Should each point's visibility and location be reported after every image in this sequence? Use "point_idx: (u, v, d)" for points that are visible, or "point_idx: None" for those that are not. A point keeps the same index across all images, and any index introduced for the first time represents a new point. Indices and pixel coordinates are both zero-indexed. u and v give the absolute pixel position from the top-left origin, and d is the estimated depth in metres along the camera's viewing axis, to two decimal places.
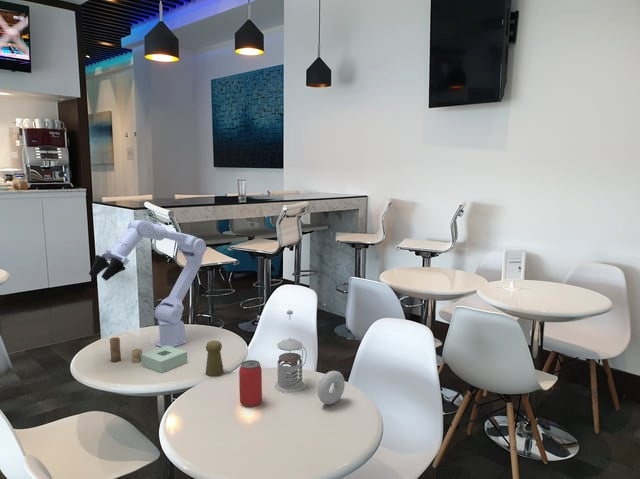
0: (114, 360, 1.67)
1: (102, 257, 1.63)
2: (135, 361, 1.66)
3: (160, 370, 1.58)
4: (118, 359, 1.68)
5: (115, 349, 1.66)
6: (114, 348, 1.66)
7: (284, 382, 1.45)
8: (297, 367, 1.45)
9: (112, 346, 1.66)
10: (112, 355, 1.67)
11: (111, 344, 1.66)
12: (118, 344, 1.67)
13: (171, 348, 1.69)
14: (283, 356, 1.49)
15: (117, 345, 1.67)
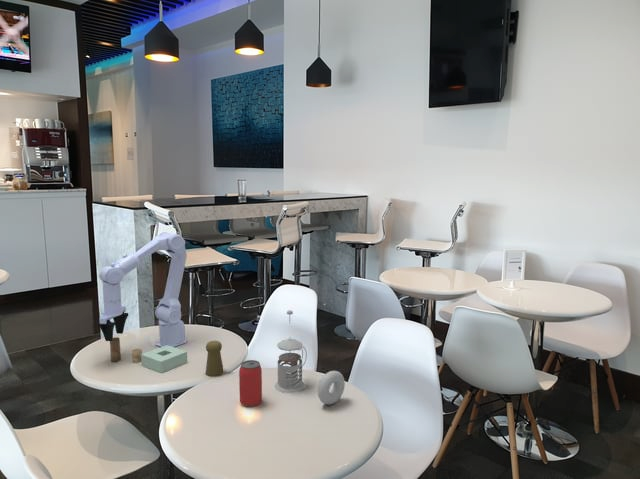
0: (114, 360, 1.67)
1: None
2: (135, 361, 1.66)
3: (160, 370, 1.58)
4: (118, 359, 1.68)
5: (115, 349, 1.66)
6: (114, 348, 1.66)
7: (284, 382, 1.45)
8: (297, 367, 1.45)
9: (112, 346, 1.66)
10: (112, 355, 1.67)
11: (111, 344, 1.66)
12: (118, 344, 1.67)
13: (171, 348, 1.69)
14: (283, 356, 1.49)
15: (117, 345, 1.67)
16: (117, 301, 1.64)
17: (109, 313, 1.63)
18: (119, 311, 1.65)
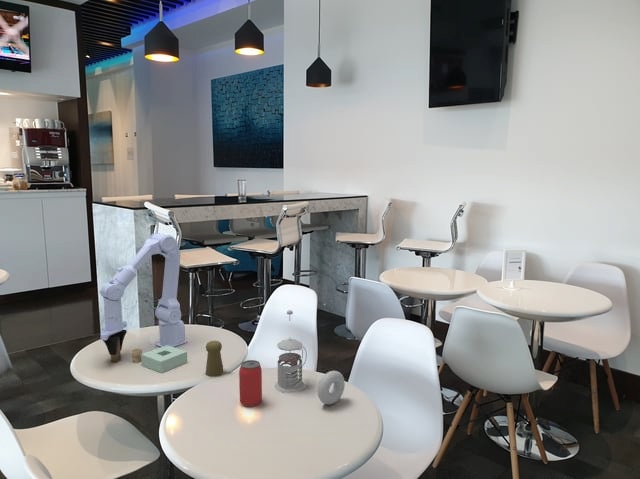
0: (114, 360, 1.67)
1: None
2: (135, 361, 1.66)
3: (160, 370, 1.58)
4: (118, 359, 1.68)
5: None
6: None
7: (284, 382, 1.45)
8: (297, 367, 1.45)
9: None
10: (112, 355, 1.67)
11: None
12: (118, 344, 1.67)
13: (171, 348, 1.69)
14: (283, 356, 1.49)
15: (117, 345, 1.67)
16: (118, 317, 1.65)
17: (110, 329, 1.64)
18: (120, 327, 1.66)
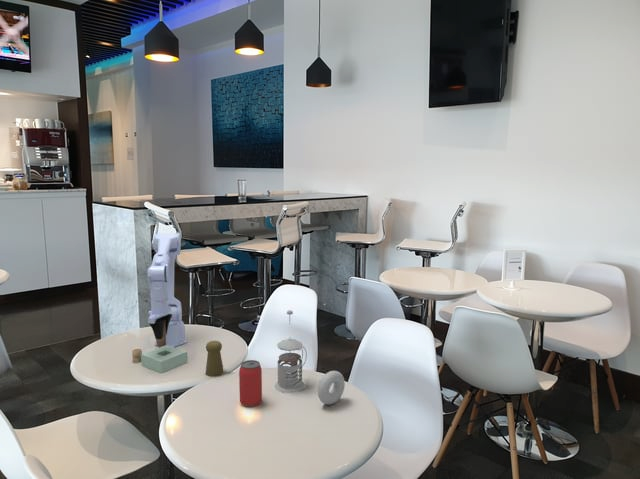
0: (160, 345, 1.63)
1: None
2: (135, 361, 1.66)
3: (160, 370, 1.58)
4: (164, 344, 1.64)
5: None
6: None
7: (284, 382, 1.45)
8: (297, 367, 1.45)
9: None
10: (158, 339, 1.63)
11: None
12: (164, 328, 1.63)
13: (171, 348, 1.69)
14: (283, 356, 1.49)
15: (163, 329, 1.63)
16: (165, 300, 1.61)
17: (157, 312, 1.60)
18: (166, 310, 1.62)
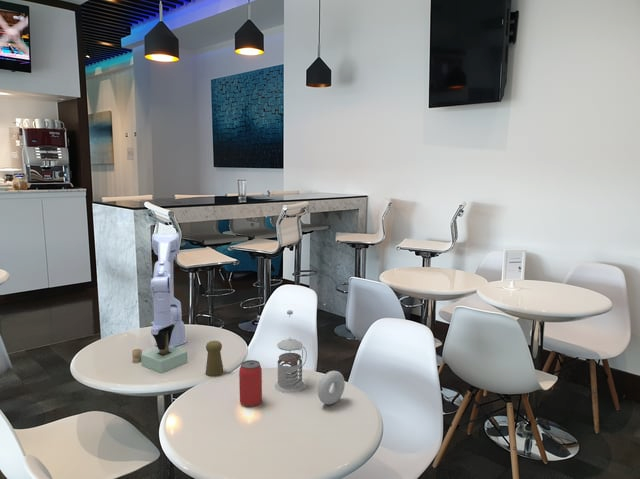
0: (163, 355, 1.63)
1: None
2: (135, 361, 1.66)
3: (160, 370, 1.58)
4: None
5: None
6: None
7: (284, 382, 1.45)
8: (297, 367, 1.45)
9: None
10: (161, 350, 1.63)
11: None
12: (167, 339, 1.64)
13: (171, 348, 1.69)
14: (283, 356, 1.49)
15: (166, 340, 1.63)
16: (167, 311, 1.61)
17: (160, 323, 1.60)
18: (169, 321, 1.62)
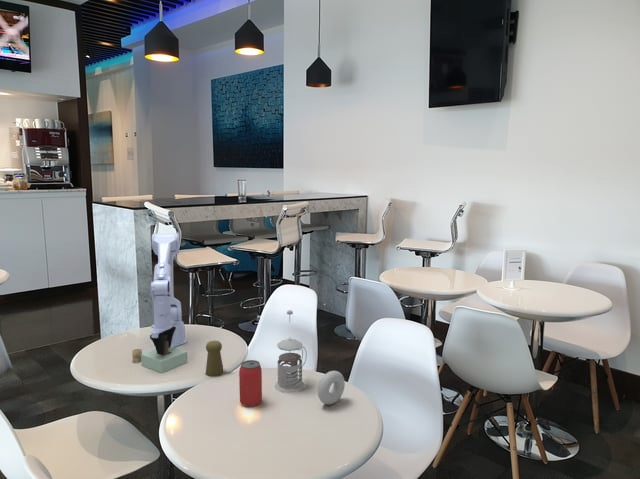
0: None
1: None
2: (135, 361, 1.66)
3: (160, 370, 1.58)
4: None
5: (164, 352, 1.63)
6: None
7: (284, 382, 1.45)
8: (297, 367, 1.45)
9: None
10: None
11: None
12: (167, 347, 1.64)
13: (171, 348, 1.69)
14: (283, 356, 1.49)
15: (166, 348, 1.64)
16: (168, 314, 1.61)
17: (160, 327, 1.61)
18: (169, 324, 1.63)
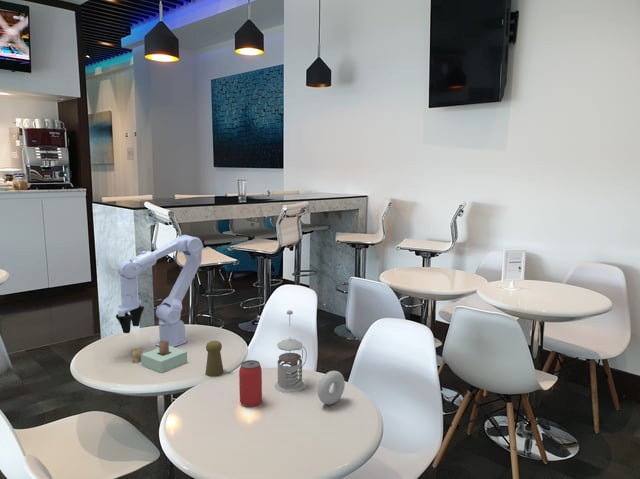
0: None
1: None
2: (135, 361, 1.66)
3: (160, 370, 1.58)
4: None
5: (165, 352, 1.64)
6: (163, 351, 1.63)
7: (284, 382, 1.45)
8: (297, 367, 1.45)
9: (161, 349, 1.63)
10: None
11: (160, 347, 1.63)
12: (167, 347, 1.64)
13: (171, 348, 1.69)
14: (283, 356, 1.49)
15: (166, 348, 1.64)
16: (134, 295, 1.70)
17: (127, 306, 1.69)
18: (136, 304, 1.71)
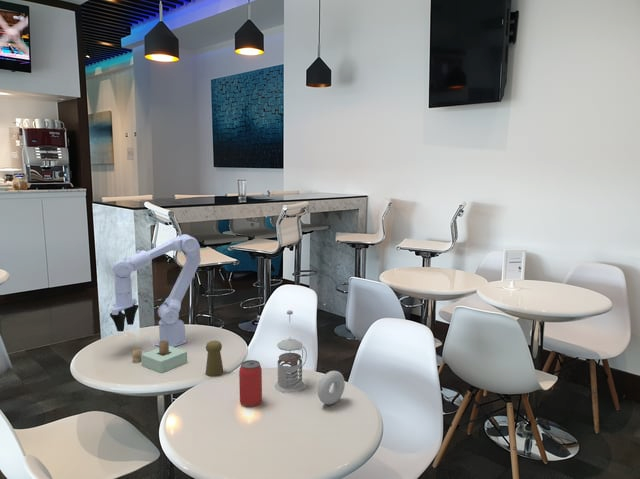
0: None
1: None
2: (135, 361, 1.66)
3: (160, 370, 1.58)
4: None
5: (165, 352, 1.64)
6: (163, 351, 1.63)
7: (284, 382, 1.45)
8: (297, 367, 1.45)
9: (161, 349, 1.63)
10: None
11: (160, 347, 1.63)
12: (167, 347, 1.64)
13: (171, 348, 1.69)
14: (283, 356, 1.49)
15: (166, 348, 1.64)
16: (128, 293, 1.72)
17: (120, 305, 1.71)
18: (130, 303, 1.73)
